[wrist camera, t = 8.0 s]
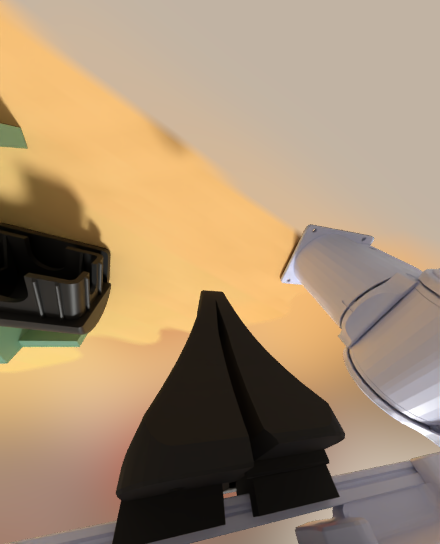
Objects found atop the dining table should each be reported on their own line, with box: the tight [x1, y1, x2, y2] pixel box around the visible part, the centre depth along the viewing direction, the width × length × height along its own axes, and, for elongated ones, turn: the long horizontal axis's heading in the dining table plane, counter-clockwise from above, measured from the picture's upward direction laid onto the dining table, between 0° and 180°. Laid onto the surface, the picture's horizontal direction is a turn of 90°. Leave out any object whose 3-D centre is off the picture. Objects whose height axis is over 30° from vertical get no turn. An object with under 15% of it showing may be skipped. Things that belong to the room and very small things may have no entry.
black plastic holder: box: [0, 223, 111, 335], centre depth 15 cm, size 10×7×7 cm
